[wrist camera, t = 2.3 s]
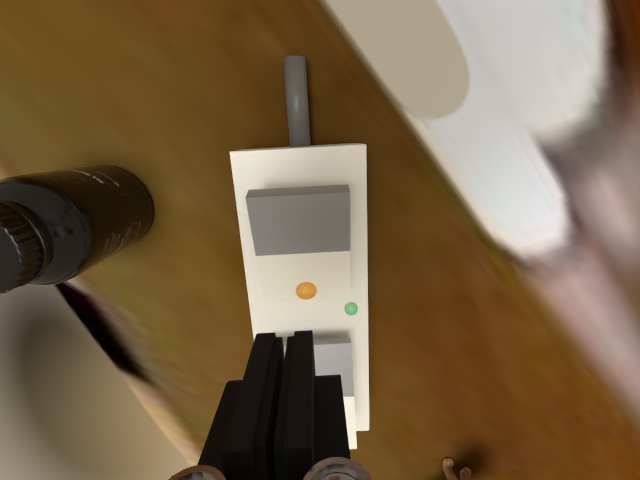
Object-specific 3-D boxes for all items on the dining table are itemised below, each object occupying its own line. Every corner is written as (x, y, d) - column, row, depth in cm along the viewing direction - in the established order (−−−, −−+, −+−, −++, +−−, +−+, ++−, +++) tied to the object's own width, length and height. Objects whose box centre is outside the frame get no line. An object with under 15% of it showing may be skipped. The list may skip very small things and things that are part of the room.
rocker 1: (347, 180, 21) (350, 193, 19) (347, 282, 25) (350, 300, 23) (250, 185, 21) (244, 199, 19) (266, 287, 25) (263, 305, 23)
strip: (355, 59, 25) (367, 37, 19) (361, 388, 34) (370, 438, 28) (235, 65, 25) (212, 46, 19) (273, 393, 34) (265, 443, 28)
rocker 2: (349, 334, 26) (351, 343, 24) (354, 433, 27) (357, 450, 25) (272, 338, 26) (268, 348, 24) (278, 437, 27) (275, 454, 25)
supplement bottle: (131, 152, 27) (-7, 165, 15) (169, 230, 29) (72, 293, 17) (55, 180, 27) (-132, 212, 16) (98, 254, 29) (-42, 330, 18)
